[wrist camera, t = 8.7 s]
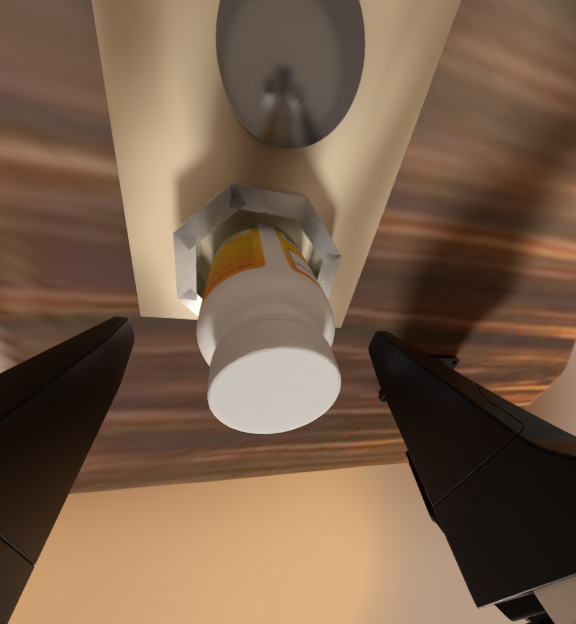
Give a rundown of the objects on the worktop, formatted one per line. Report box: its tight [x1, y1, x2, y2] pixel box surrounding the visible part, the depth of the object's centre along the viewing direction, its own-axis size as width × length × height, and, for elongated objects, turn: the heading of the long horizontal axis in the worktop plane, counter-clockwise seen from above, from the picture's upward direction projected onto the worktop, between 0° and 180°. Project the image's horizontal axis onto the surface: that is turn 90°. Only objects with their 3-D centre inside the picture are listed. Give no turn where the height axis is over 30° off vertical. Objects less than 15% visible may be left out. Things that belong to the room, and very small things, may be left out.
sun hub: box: [216, 0, 365, 149], centre depth 9 cm, size 5×5×3 cm
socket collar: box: [173, 179, 342, 316], centre depth 14 cm, size 9×9×2 cm
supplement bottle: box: [197, 224, 341, 434], centre depth 11 cm, size 5×5×10 cm
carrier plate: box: [92, 0, 461, 328], centre depth 13 cm, size 14×17×1 cm
